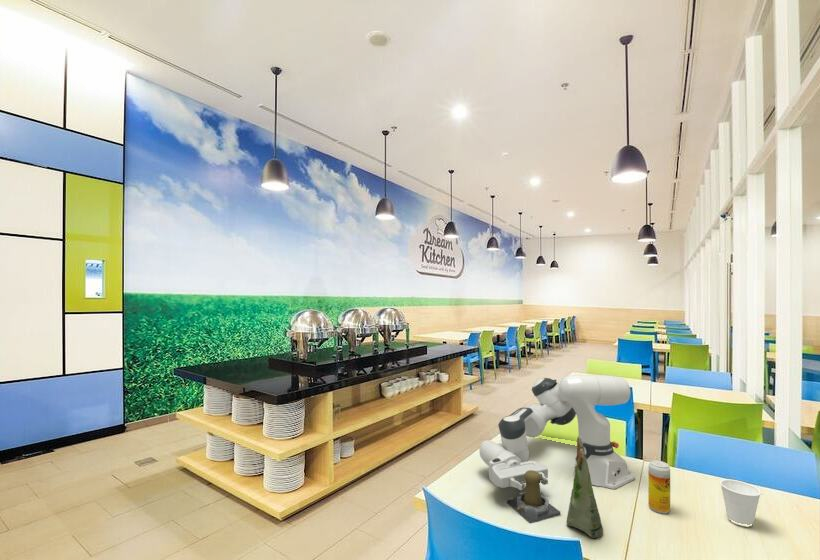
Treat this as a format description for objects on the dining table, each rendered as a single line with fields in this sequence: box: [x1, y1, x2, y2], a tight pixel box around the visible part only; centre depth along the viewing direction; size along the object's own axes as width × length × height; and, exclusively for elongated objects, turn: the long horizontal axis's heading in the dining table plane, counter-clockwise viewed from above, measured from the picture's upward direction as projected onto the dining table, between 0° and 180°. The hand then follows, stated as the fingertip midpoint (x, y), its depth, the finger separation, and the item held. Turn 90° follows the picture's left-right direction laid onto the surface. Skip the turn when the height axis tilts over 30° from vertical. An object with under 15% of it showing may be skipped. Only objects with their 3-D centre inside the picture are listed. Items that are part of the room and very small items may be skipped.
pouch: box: [566, 438, 604, 539], centre depth 120 cm, size 11×12×25 cm
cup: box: [719, 478, 762, 525], centre depth 123 cm, size 10×10×11 cm
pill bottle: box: [647, 459, 671, 515], centre depth 130 cm, size 6×6×15 cm
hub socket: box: [506, 491, 561, 524], centre depth 129 cm, size 12×12×3 cm
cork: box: [524, 470, 542, 507], centre depth 129 cm, size 6×6×11 cm
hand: (534, 484), depth 128 cm, fingers open, 8 cm apart
